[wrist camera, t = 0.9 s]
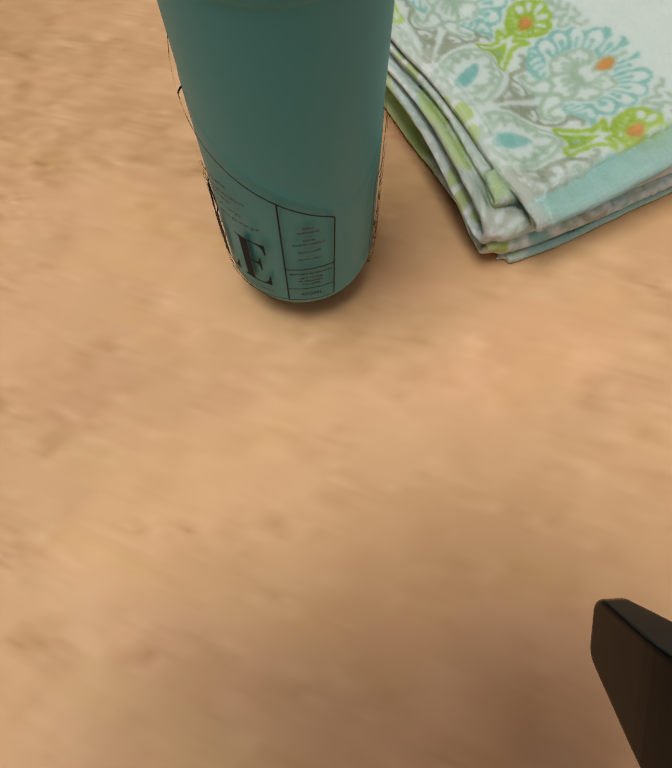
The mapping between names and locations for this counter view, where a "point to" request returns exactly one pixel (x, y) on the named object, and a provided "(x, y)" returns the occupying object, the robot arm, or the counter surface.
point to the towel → (536, 111)
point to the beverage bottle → (288, 130)
